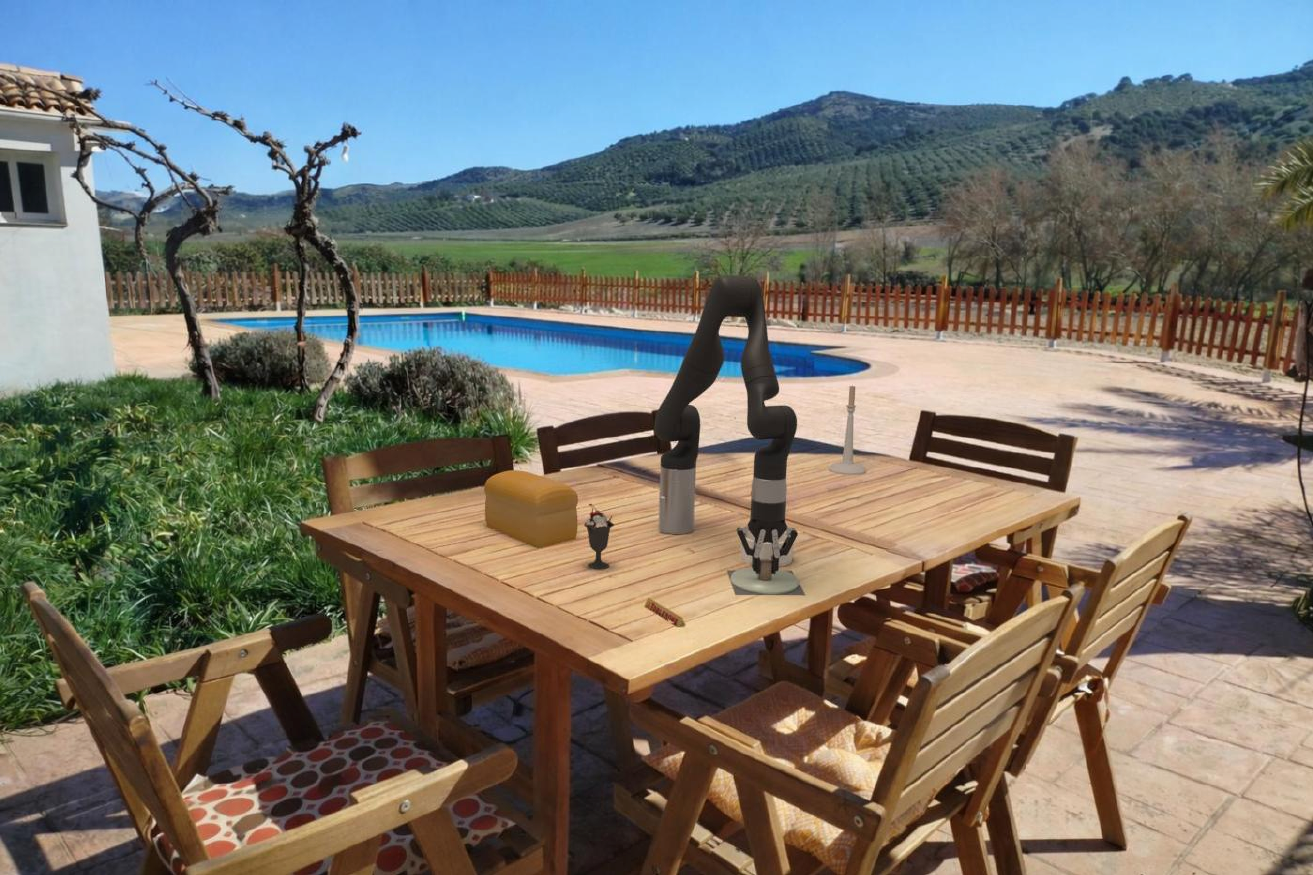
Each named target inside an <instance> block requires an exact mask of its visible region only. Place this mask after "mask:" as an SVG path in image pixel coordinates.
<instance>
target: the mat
mask: <svg viewBox="0 0 1313 875" xmlns="http://www.w3.org/2000/svg"><path fill="white" fill-rule="evenodd" d="M735 571H737V570H733V569H732V570H726V572H727V575H728V578H729V581H730V584H731V586H732V590H733V592H734V595H735V596H765V595H764V594H755V593H750V592H746V591H743V590H741V589H738V588H736V587H735V586H734V585H733V584H732V583H731V575H732V573H734V572H735ZM786 571H787V572H790V573H792V574H794V572H793V571H792V570H786ZM776 596H806V593H805V591H804V590H803V588H802V587H801V585H800V583H799V586H798V588H797V589H796V590H794V591H792V592H789V593H785V594H777V595H776Z"/></svg>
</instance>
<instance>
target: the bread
mask: <svg viewBox="0 0 1313 875" xmlns="http://www.w3.org/2000/svg"><path fill="white" fill-rule="evenodd" d="M483 486H484V487H483V490H484V492H483V493H484V495H485V501H484V520H485V524H486V527H487V526H488V529H491V530H493V529H495V530H497V531H496V532H498V531H499V532H498V533H500V532H501V533H500V534H503V533H504V534H503V535H505V534H506V535H505V536H507V535H508V536H507V537H510V538H512V539H515V540H517V541H520V542H522V543H523V544H526V545H529V546H532V547H534V548H539V549H540V548H545V547H549V546H553V545H558V544H562V543H566V542H570V541H574V540H576V537H577V535H578V512H577V511H578V510H577V506H578V503H579V497H578V494H577V492H576V491H575V490H574V488H573V487H571V486H569V485H568V484H565V483H562V482H560V481H556V480H554V479H551V478H548V477H544V476H541V475H538V474H534V473H531V472H528V471H525V470H518V469H517V470H515V469H514V470H513V469H512V470H511V469H510V470H505V471H501V472H499V473H496V474H494V475H492V476H490V477H489V478H488V479H487V480H486V482H485V483H484V485H483ZM495 530H494V531H495Z"/></svg>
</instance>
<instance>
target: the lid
mask: <svg viewBox="0 0 1313 875" xmlns="http://www.w3.org/2000/svg"><path fill="white" fill-rule="evenodd" d="M787 571H788V570H783V569H780V568H779V569H778V571H776V573H775V574H772V561H771V560H768V559H761V560H760V571H759V574H756V573H755V571H753V568H752V566H751V567H746V568H740V569H738V570H737V571H735V572H734V573H732V575H731V581H730V584H731V583H732V584H733V585H734V586H735V587H736V588H738V589H741V590H743V591H746V592H750V593H755V594H764V595H763V596H778V595H777V594H785V593H789V592H792V591H794V590H796V589H797V588H798V586H799V584H800V579H799V577H798V576H796V575H795V574H794V573H793V574H792V573H790V572H787ZM732 584H731V585H732Z"/></svg>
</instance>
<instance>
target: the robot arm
mask: <svg viewBox="0 0 1313 875" xmlns="http://www.w3.org/2000/svg"><path fill="white" fill-rule="evenodd" d="M727 317H729V318H730V317H731V318H732V317H733V318H744V319H745V322H746V325H747V328H748V333H747V338H746V342H745V345H744V348H743V350H742V353H741V358H740V369H741V375H742V378H743V383H744V387H745V389H746V394H747V395H746V397H747V414H746V416H747V417H746V426H747V429H748V432H749V433H750V435H751V436H752V437H753V438H754V439H756V440H760V441H761V440H771V442H770V444H769V445H768V446H766V447H764V448H761V449H759V450H757V451H756V452H755V453H754V457H753V477H752V483H751V491H750V496H751V497H750V498H751V499H750V519H749V521H748V523H747V525H746V526H744V527H737V528H736V533H737V535H738V538H739V539H740V544H741V543H742V545H743V547H744V550H745V552H746V554H747V555H751V556H752V565H751V567H752V568H753V571H755V573H756V574H759V571H760V557H759V556H760V551H761V548H762V545H763V543H766V542H769V543H771V545H772V552H773V555H771V561H772V574H775V573H776V571H778V569H780V567H779V558H780V557H781V556H783V555H784V556H786V555H788V553H789V551H790V549H791V547H792V545H793V546H794V543H795V542H796V539H797V537H798V536H799V535H798V534H799V533H798V531H797V529H796V528H795V527H793V528H792V527H789V526H788V525H787V523H786V510H787V508H786V507H787V493H788V492H787V490H788V489H787V486H788V485H787V466H788V465H787V463H788V458H789V454H790V452H791V447H792V446H793V442H794V439H795V437H796V433H797V428H798V417H797V414H796V411H795V410H794V409H793V408H792V407H791V406H790V405H785V404H784V405H783V404H782V405H769V406H768V405H767V406H766V403H765V401H766V402H767V401H769V400H771V399H773V398H775V397H776V396H777V395H779V392H780V385H779V384H780V383H779V381H778V377H777V374H776V370H775V366H774V363H773V359H772V356H771V350H770V346H769V337H768V336H769V335H768V326H767V316H766V309H765V300H764V294H763V290H762V287H761V284H760V281H758V279H757V278H755V277H753V276H748V275H733V274H732V275H731V274H724V275H718V276H717V277H716V278H715V279H714V280H713V282H712V284H711V286H710V288H709V290H708V294H707V296H706V298H705V304H704V307H703V309H702V313H701V314H700V320H699V321H698V325H697V327H696V330H695V332H694V335H693V337H692V339H691V342H690V344H689V346H688V348H687V350H686V352H685V355H684V357H683V360H682V362H681V364H680V367H679V369H678V372H677V374H676V375H675V376H676V377H675V379H674V380H673V383H672V385H671V387H670V389H669V391H668V392H667V394H666V396H665V397H664V399H663V401H662V402H661V404H660V406H659V407H658V410H657V412H656V414H655V419H654V424H653V425H654V433H655V436H656V437H657V438H658V439H659V440H661V441H662V442H667V443H668V442H671V443H672V442H677V443H676V444H675V446H674V447H673V448H671V449H670V450H667V451H666V452H664V453H662V454H661V456H660V473H659V474H660V475H659V477H660V479H659V493H658V494H659V495H658V497H659V498H658V499H659V500H658V530H659V533H664V534H665V533H666V534H671V535H672V534H673V535H685V534H689V533H692V532H693V531H695V506H696V505H695V503H696V497H695V496H696V476H697V475H696V471H697V470H696V469H697V459H698V457H699V447H700V446H699V445H700V435H701V418H700V413H699V411H698V409H697V408H696V407H695V405H693V404H691V403H692V402H693V401H695V400H696V399H697V398H698V397H700V396H701V395H702V394H704V392H706V391H707V390H708V389H710V388H711V386H712V385H713V384H714V383H715V381H716V380H717V378H718V376H719V374H720V372H721V370H722V367H723V365H724V362H725V350H724V347H723V344H722V341H721V337H720V330H721V329H720V328H721V326H722V324H723V321H724V320H725V319H726V318H727ZM748 531H750V532H751V533H752V535H753V536H754V537H755V540H754V547H753V549H752V548H750V547H749V545H748V543H747V540H746V537H748ZM784 532H786V536H787V538H786V540H785V542H784V544H783V545H782V547H781V548H780V549H779V542H778V540H779V538H780V537H781V536H782V535H783V533H784Z"/></svg>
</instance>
